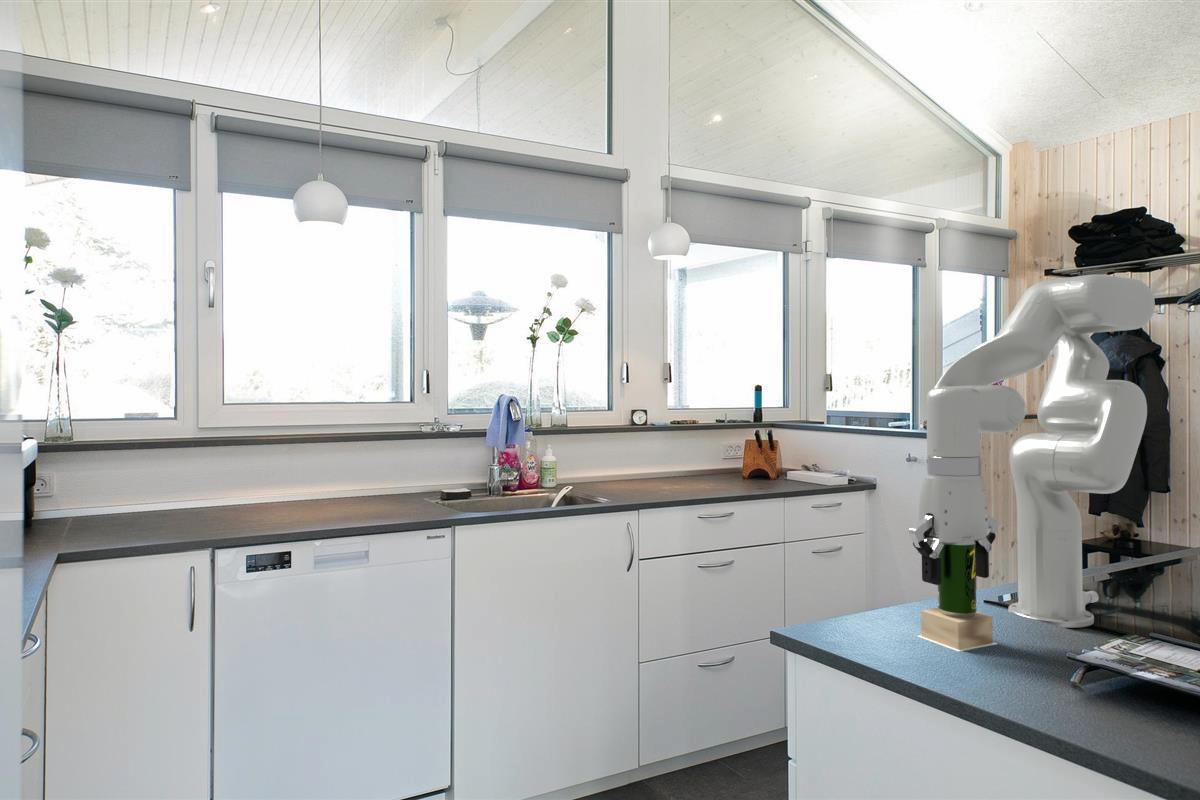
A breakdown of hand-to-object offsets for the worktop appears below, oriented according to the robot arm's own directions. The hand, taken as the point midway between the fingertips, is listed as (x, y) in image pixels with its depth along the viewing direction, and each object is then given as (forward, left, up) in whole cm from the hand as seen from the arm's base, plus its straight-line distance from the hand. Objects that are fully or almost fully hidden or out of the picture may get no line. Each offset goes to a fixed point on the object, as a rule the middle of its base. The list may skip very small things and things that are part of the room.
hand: (955, 579), depth 117 cm
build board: (0, 0, -10) cm, 10 cm away
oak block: (0, 0, -9) cm, 9 cm away
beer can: (0, 0, -5) cm, 5 cm away
